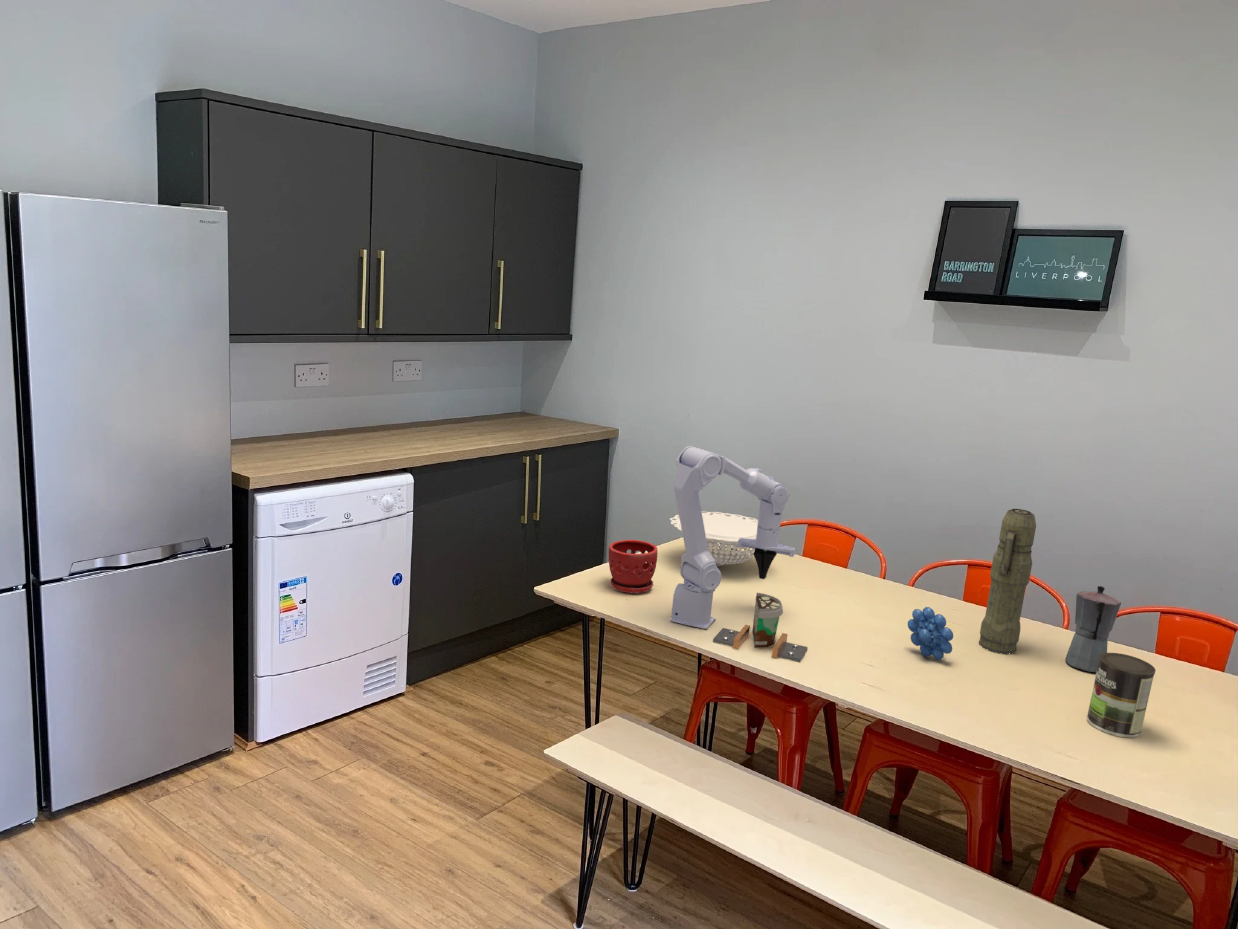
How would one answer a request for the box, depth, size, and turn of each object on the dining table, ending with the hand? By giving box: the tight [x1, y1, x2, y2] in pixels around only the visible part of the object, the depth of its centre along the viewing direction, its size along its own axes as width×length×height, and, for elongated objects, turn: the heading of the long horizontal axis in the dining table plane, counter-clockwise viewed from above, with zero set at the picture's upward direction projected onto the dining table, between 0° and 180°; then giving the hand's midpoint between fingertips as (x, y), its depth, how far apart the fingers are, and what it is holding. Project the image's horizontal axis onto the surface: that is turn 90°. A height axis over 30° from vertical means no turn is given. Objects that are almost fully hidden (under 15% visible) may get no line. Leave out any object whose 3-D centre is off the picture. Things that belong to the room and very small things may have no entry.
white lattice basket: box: [669, 510, 758, 567], centre depth 273 cm, size 32×32×13 cm
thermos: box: [978, 508, 1037, 655], centre depth 225 cm, size 9×12×35 cm
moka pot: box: [1064, 585, 1122, 673], centre depth 219 cm, size 10×15×20 cm, turn 161°
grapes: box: [907, 606, 954, 661], centre depth 217 cm, size 12×7×12 cm, turn 45°
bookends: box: [712, 624, 809, 663], centre depth 217 cm, size 21×10×2 cm, turn 67°
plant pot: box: [608, 539, 659, 595], centre depth 248 cm, size 13×13×12 cm
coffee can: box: [1086, 652, 1156, 739], centre depth 189 cm, size 10×10×14 cm
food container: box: [751, 592, 784, 649], centre depth 219 cm, size 12×6×10 cm, turn 175°
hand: (762, 577), depth 237 cm, fingers closed
